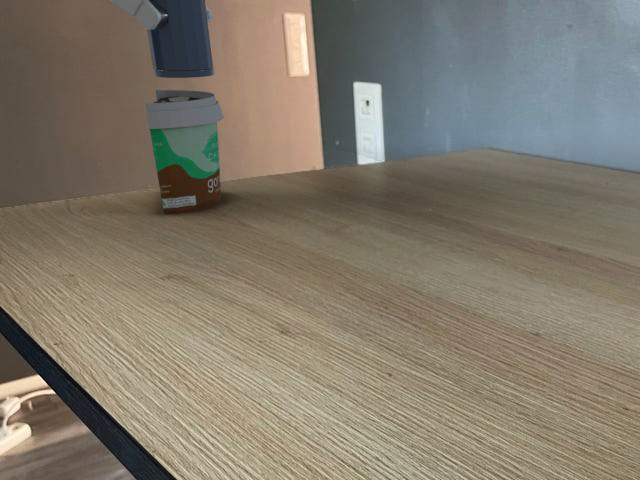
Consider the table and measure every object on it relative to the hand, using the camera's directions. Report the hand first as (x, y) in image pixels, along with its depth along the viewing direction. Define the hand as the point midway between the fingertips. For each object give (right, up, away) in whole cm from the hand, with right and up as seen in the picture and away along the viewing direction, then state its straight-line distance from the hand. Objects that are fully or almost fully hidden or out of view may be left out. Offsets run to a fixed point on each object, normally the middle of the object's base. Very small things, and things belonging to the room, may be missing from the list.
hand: (183, 23), depth 71 cm
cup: (-1, -4, +2) cm, 4 cm away
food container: (-1, -15, +7) cm, 16 cm away
